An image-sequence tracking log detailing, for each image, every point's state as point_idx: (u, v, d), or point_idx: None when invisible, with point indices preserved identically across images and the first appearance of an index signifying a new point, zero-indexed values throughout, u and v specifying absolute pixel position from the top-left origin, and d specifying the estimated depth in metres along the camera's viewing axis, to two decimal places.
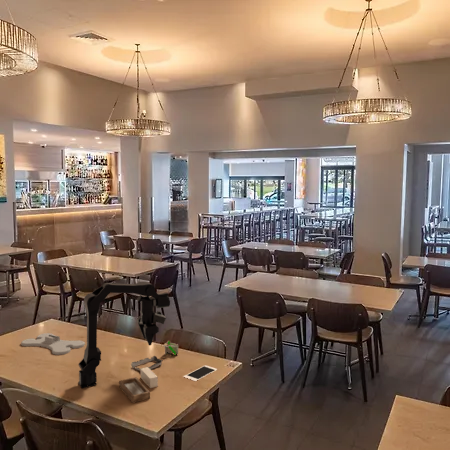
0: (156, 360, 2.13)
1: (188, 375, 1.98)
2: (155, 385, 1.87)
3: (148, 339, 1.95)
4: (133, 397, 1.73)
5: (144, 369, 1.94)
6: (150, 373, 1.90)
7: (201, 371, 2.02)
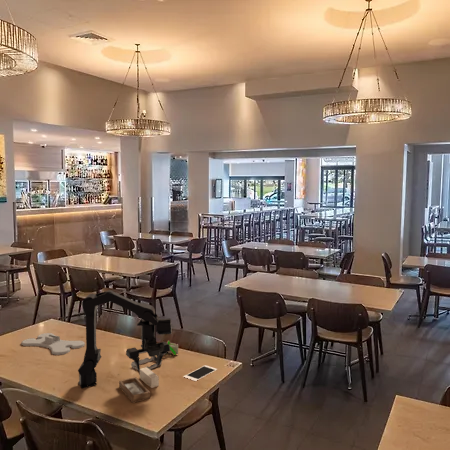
0: (156, 360, 2.13)
1: (188, 375, 1.98)
2: (156, 385, 1.87)
3: (135, 363, 1.88)
4: (133, 397, 1.73)
5: (143, 369, 1.94)
6: (150, 373, 1.90)
7: (201, 371, 2.02)
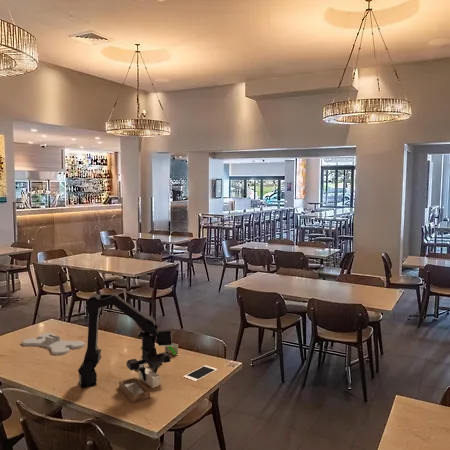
0: None
1: (188, 375, 1.98)
2: (157, 384, 1.87)
3: (141, 373, 1.90)
4: (133, 397, 1.73)
5: None
6: (150, 372, 1.90)
7: (201, 371, 2.02)
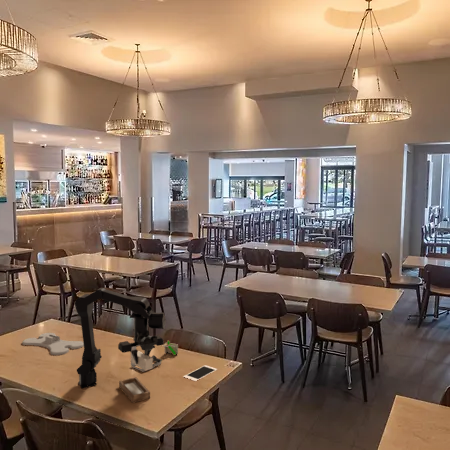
0: (155, 359, 2.14)
1: (188, 375, 1.98)
2: (150, 367, 1.82)
3: (133, 356, 1.84)
4: (133, 397, 1.73)
5: None
6: (143, 355, 1.85)
7: (201, 371, 2.02)
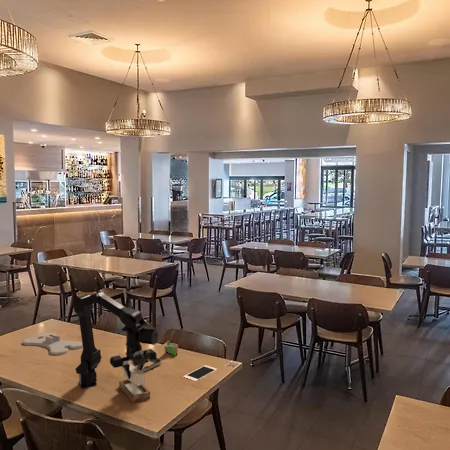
0: (155, 359, 2.14)
1: (188, 375, 1.98)
2: (142, 382, 1.77)
3: None
4: (133, 397, 1.73)
5: None
6: (135, 370, 1.80)
7: (201, 371, 2.02)
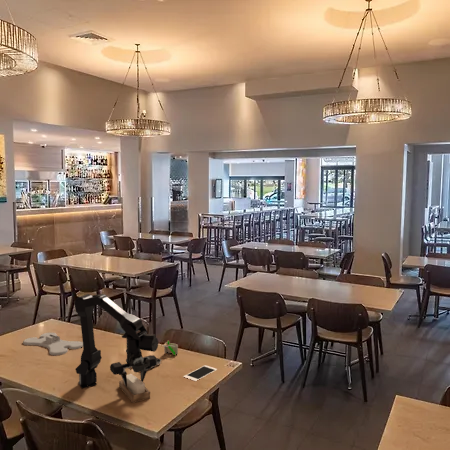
0: None
1: (188, 375, 1.98)
2: (142, 392, 1.77)
3: (122, 378, 1.79)
4: (133, 397, 1.73)
5: (128, 376, 1.84)
6: (135, 380, 1.80)
7: (201, 371, 2.02)
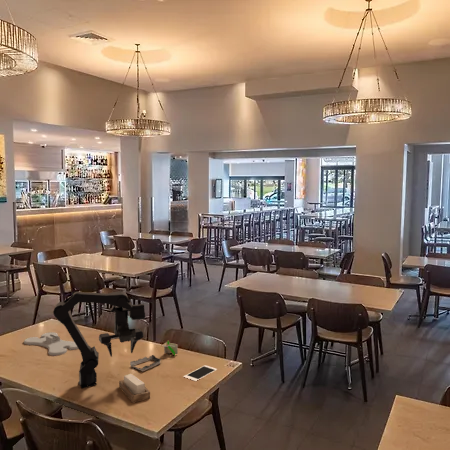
0: (154, 359, 2.14)
1: (188, 375, 1.97)
2: (142, 392, 1.77)
3: (108, 349, 1.90)
4: (133, 397, 1.73)
5: (128, 376, 1.84)
6: (135, 380, 1.80)
7: (201, 371, 2.02)
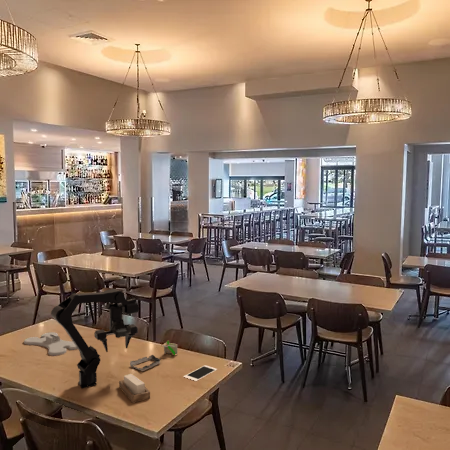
0: (154, 359, 2.15)
1: (188, 375, 1.97)
2: (142, 392, 1.77)
3: (103, 344, 1.95)
4: (133, 397, 1.73)
5: (128, 376, 1.84)
6: (135, 380, 1.80)
7: (201, 371, 2.02)
